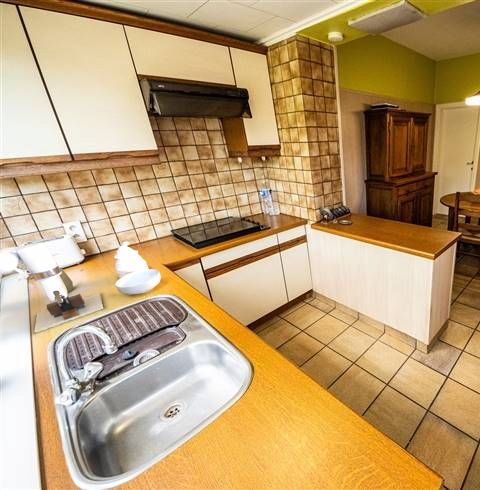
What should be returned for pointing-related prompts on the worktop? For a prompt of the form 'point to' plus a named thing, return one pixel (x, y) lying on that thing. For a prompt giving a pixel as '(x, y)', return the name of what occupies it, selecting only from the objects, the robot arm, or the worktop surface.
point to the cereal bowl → (139, 281)
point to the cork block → (70, 314)
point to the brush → (74, 300)
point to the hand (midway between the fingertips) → (69, 309)
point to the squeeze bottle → (66, 280)
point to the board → (48, 320)
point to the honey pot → (128, 261)
